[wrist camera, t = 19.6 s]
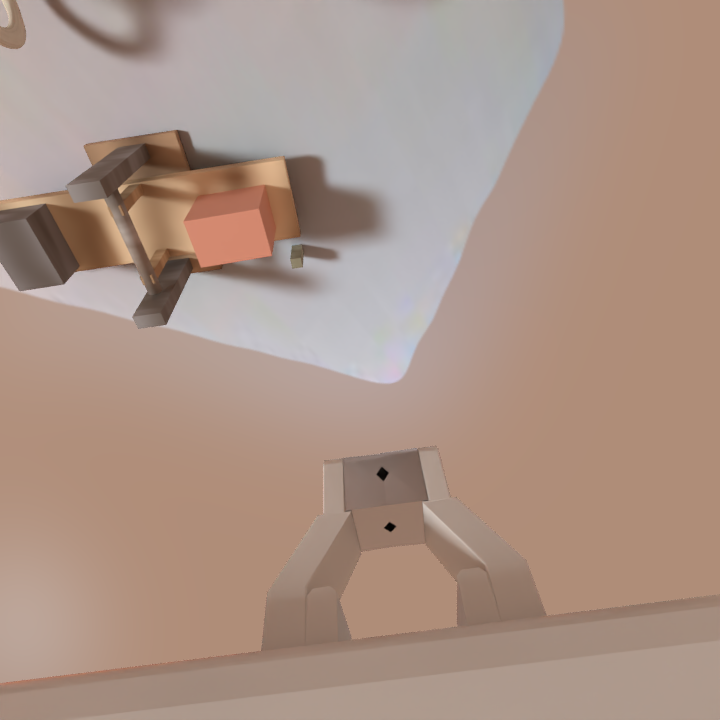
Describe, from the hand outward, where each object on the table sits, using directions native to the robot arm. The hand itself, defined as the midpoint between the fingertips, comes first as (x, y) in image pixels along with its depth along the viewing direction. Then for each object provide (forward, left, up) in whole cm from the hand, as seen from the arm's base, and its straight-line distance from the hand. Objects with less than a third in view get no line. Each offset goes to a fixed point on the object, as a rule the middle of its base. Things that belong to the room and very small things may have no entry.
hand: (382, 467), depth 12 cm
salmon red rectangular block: (+4, -10, -34) cm, 36 cm away
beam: (+4, -18, -35) cm, 40 cm away
